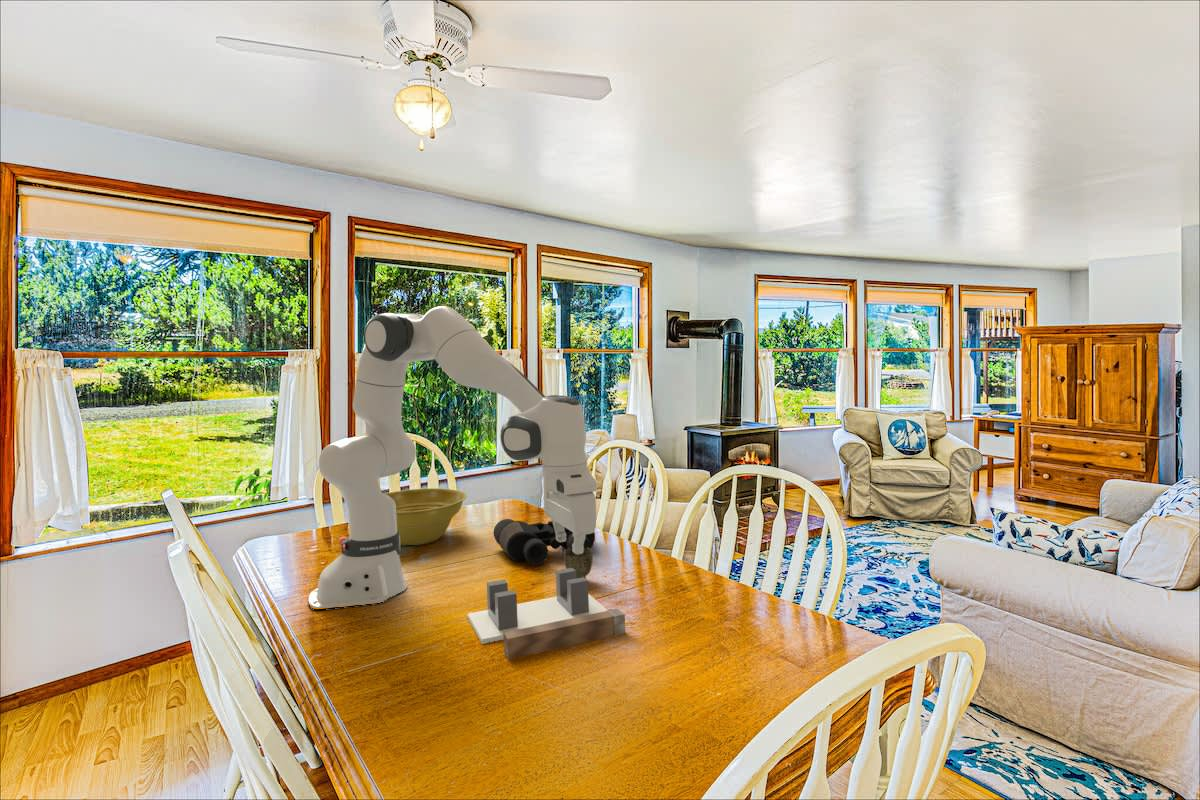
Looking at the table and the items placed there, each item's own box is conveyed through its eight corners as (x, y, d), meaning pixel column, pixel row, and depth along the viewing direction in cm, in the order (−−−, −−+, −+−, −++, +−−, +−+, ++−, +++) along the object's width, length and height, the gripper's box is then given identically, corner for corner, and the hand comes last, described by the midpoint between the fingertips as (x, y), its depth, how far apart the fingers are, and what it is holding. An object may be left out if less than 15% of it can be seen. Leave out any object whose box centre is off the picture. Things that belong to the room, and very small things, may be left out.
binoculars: (583, 536, 193) (583, 506, 192) (607, 560, 174) (607, 527, 173) (493, 548, 183) (492, 516, 182) (508, 575, 164) (507, 540, 162)
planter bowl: (454, 554, 180) (452, 509, 179) (346, 557, 180) (343, 512, 179) (477, 525, 212) (476, 486, 211) (385, 527, 212) (383, 489, 211)
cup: (590, 587, 150) (589, 555, 149) (561, 586, 151) (560, 554, 151) (596, 577, 157) (595, 546, 156) (568, 576, 158) (567, 545, 158)
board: (482, 644, 121) (480, 604, 120) (467, 618, 134) (466, 582, 133) (610, 616, 132) (609, 580, 132) (585, 595, 145) (584, 562, 145)
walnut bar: (508, 660, 114) (507, 639, 114) (503, 652, 117) (503, 632, 117) (625, 633, 124) (624, 614, 124) (618, 626, 127) (617, 608, 127)
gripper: (534, 472, 128) (538, 537, 129) (568, 487, 109) (572, 563, 110) (562, 469, 131) (566, 532, 131) (600, 483, 112) (604, 557, 113)
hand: (569, 547), depth 121 cm, fingers open, 8 cm apart
